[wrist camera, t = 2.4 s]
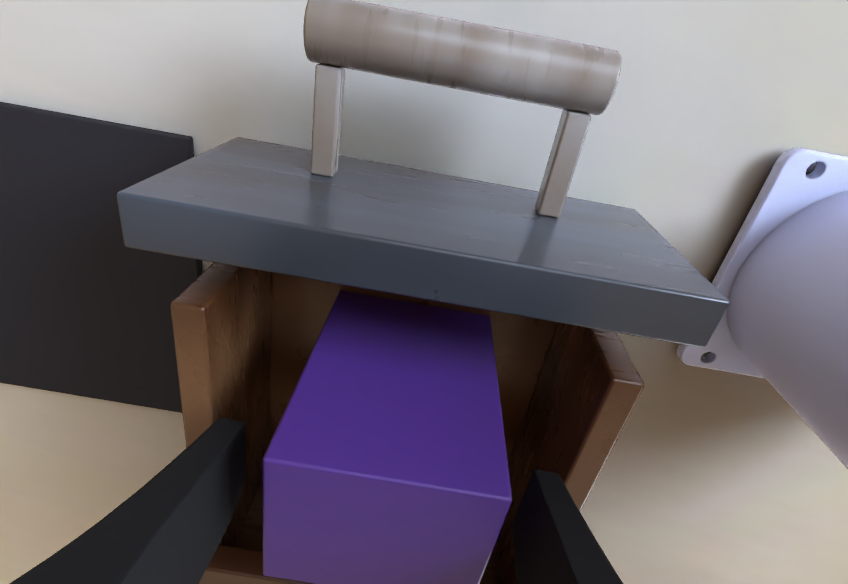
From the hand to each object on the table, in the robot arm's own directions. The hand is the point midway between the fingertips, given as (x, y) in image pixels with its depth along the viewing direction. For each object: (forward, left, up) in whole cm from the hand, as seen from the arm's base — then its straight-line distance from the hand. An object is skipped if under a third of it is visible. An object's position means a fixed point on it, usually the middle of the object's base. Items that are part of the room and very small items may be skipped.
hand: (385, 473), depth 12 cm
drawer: (0, -1, -6) cm, 6 cm away
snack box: (0, 0, -5) cm, 5 cm away
